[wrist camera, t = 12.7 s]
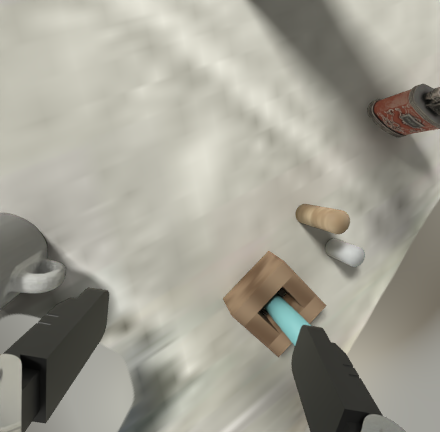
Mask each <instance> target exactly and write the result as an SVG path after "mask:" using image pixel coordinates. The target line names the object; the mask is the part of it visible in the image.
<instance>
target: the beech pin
mask: <svg viewBox="0 0 440 432" xmlns="http://www.w3.org/2000/svg"><path fill="white" fill-rule="evenodd" d="M296 218H297V220H298V221H299V222H300V223H303V224H307V225H310V226H313V227H316V228H319V229H322V230H325V231H328V232H331V233H335V234H342V233H344V232H345V231H346V230H347V229H348V227H349V224H350V218H349V215H348V214H347V213H346V212H345V211H342V210H336V209H331V208H325V207H320V206H314V205H309V204H302V205H300V206H299V207H298V208H297V210H296Z"/></svg>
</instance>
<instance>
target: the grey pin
mask: <svg viewBox="0 0 440 432" xmlns="http://www.w3.org/2000/svg"><path fill="white" fill-rule="evenodd" d="M325 251H326V253H327V255H329V256H331V257H333V258H335V259H337V260H339V261H341V262H344V263H346V264H348V265H350V266H352V267H357V266H359V265H360V264H361V263H362V262H363V261H364V258H365V252H364V250H363V249H362V248H361V247H358V246H355V245H353V244H350V243H347V242H344V241H341V240H338V239H331V240H329V241H328V242H327V244H326V246H325Z"/></svg>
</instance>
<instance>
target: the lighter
mask: <svg viewBox="0 0 440 432" xmlns="http://www.w3.org/2000/svg"><path fill="white" fill-rule="evenodd" d="M368 115H369V116H370V118H371V119H372V120H373V121H374V122H375V123H376V124H377V125H378V126H379V127H380V128H382V129H383V130H385V131H386V132H388V133H389V134H392V135H394V136H396V137H402V136H406V135H407V134H412V133H418V132H423V131H429V130H435V129H440V87H438V88H435V89H433V88H431V87H429V86H428V85H426V84H421V85H418V86H415V87H414V88H412V89H411V90H408V91H405V92H402V93H400V94H397V95H394V96H391V97H388V98H385V99H382V100H381V99H379V100H376V101H373V102H372V103H371V104H370V105H369V107H368Z"/></svg>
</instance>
